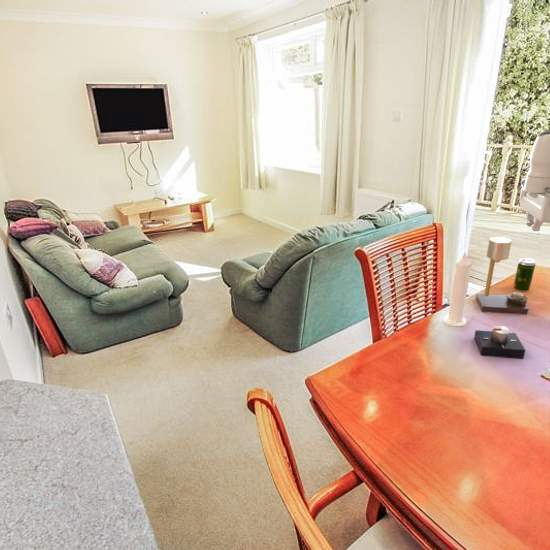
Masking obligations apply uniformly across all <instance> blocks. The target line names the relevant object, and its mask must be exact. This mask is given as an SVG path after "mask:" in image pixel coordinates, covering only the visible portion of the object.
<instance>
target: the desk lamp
mask: <svg viewBox="0 0 550 550" xmlns="http://www.w3.org/2000/svg"><path fill="white" fill-rule="evenodd" d="M511 247H512V239H511V238H508V237H503V236H492V237H489V240H488V246H487V251H486V257H487V258H488V259H490V261H489V266H488V270H487V271H488V272H487V278H486V283H485V288H484V293H483V294H484V296H487V297H488V296H489V294H490V292H491V291H490V290H491V286H492V280H493V275H494V270H495V265H496V263H501V261H505V260H508V259H509V257H510V252H511Z"/></svg>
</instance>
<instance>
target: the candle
mask: <svg viewBox="0 0 550 550" xmlns="http://www.w3.org/2000/svg"><path fill="white" fill-rule="evenodd" d="M471 270H472V262H471V261H470V260H469V259H468V257H467V252H464V253H463V255H462V257H461V258H459V259H457V260H456V261H455V264H454V272H453V280H452V285H451V293H450V301H449V307H448V314H447V315H445V316H444V317H443V322H444V323H445V324H446V325H448V326H449V327H455V328H462V327H465V326H466V325H467V322H468V321H467V319H466V318H464V314H465V308H466V302H467V297H468V290H469V283H470V277H471Z"/></svg>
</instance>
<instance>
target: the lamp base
mask: <svg viewBox="0 0 550 550" xmlns="http://www.w3.org/2000/svg"><path fill="white" fill-rule="evenodd" d="M484 294H485V293H476V294H475V301H476V303H477V305H478V307H479V309H480V311H481V312H482V313H497V314H515V315H528V314H529V307H528V306H527V304H528V300H529V299H528V297H527V296H526V295H524V294H523V298H522V300H517V299H514V298H512V296H513V292H512V293H508V294H494V293H493V294H490V293H489V296H488V297H487V296H484Z"/></svg>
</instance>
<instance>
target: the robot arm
mask: <svg viewBox="0 0 550 550" xmlns="http://www.w3.org/2000/svg"><path fill="white" fill-rule="evenodd" d="M520 181H521V182H520V186H521V190H520V194H519V195H520V196H519V207H520V208H521V209H523V211H525V212H526V224H525V225H526V226H527V227H531V230H532V231H533V232H540V230H541V227H542V225H543V224H544V223H550V129H547V130H545V131H542V132H541V133H539V134H538V135H537V137H536V139H535V140H534V143H533V146H532V150H531V153H530V158H529V170H528V171H527V173H526V177H525V178H522V179H521V180H520Z"/></svg>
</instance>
